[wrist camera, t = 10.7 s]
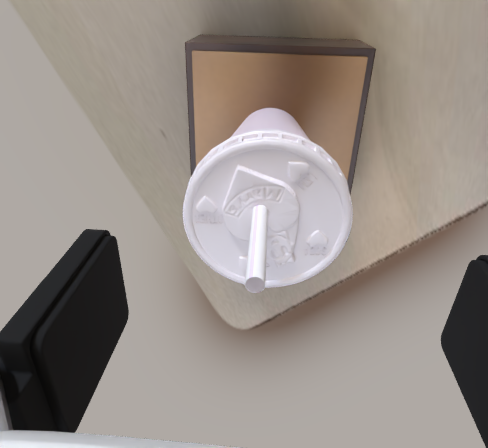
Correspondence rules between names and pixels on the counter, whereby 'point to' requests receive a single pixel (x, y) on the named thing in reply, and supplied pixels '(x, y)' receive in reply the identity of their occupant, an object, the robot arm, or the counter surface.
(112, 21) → the counter surface
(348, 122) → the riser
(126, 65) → the counter surface
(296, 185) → the smoothie
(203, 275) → the counter surface
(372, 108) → the counter surface
